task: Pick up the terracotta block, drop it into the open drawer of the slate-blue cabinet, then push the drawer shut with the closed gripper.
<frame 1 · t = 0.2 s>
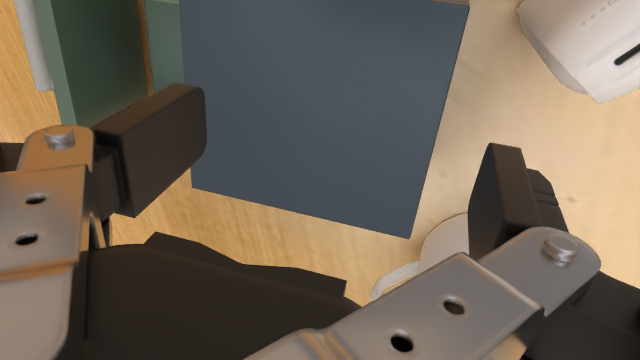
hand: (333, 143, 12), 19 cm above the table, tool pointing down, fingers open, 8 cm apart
cabinet: (342, 65, 31), on the table
drawer: (145, 53, 29), point 5 cm above the table, slide at 8.5 cm
mug: (463, 255, 36), on the table
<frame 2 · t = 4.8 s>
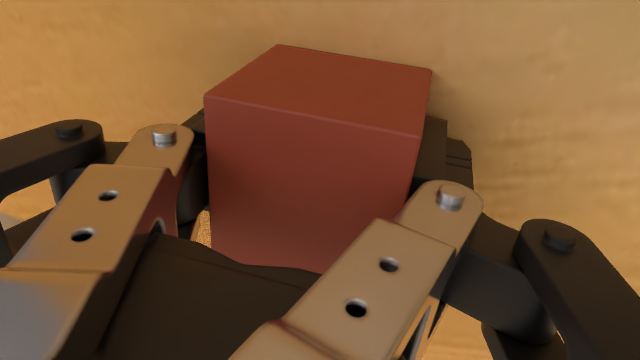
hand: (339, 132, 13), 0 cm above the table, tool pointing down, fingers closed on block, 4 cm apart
block: (342, 128, 13), on the table, touching gripper
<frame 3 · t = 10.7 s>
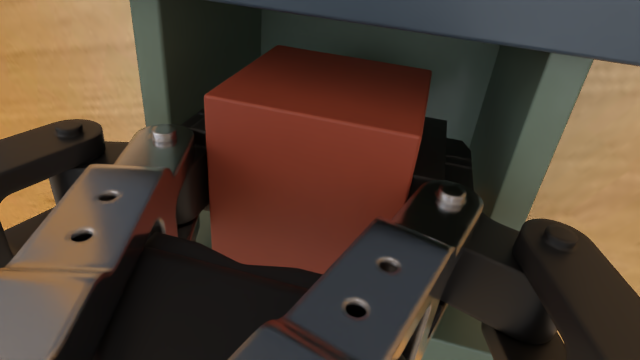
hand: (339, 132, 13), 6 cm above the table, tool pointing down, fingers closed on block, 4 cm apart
drawer: (344, 161, 15), point 5 cm above the table, slide at 8.5 cm
block: (342, 128, 13), point 6 cm above the table, touching gripper
when the fingers open (9 cm above the table, at t = 27.9 s): block drops 7 cm, resting on drawer.
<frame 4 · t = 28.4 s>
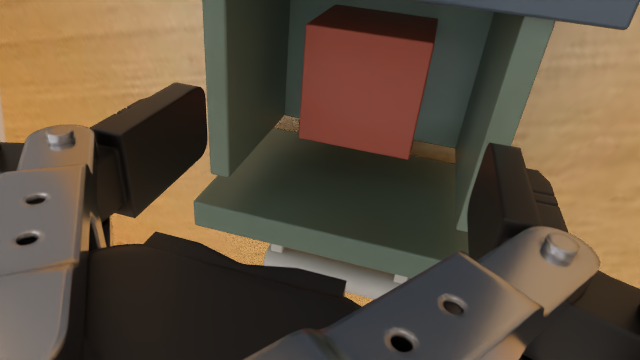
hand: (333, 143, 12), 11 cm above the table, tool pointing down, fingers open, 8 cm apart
drawer: (361, 122, 18), point 5 cm above the table, slide at 8.5 cm, touching block
block: (377, 62, 19), point 2 cm above the table, touching drawer
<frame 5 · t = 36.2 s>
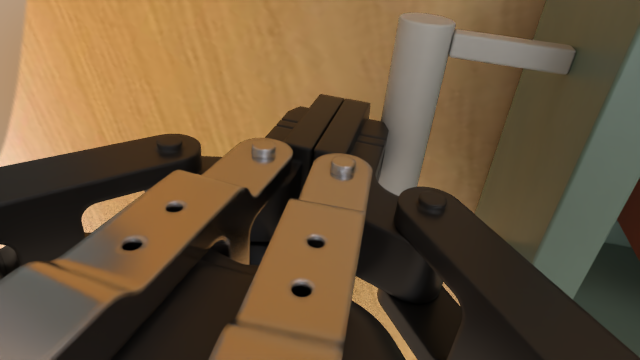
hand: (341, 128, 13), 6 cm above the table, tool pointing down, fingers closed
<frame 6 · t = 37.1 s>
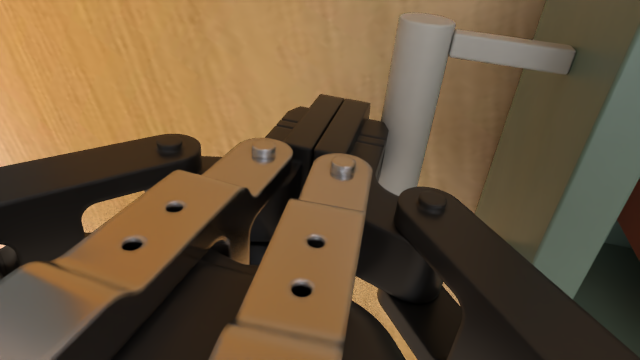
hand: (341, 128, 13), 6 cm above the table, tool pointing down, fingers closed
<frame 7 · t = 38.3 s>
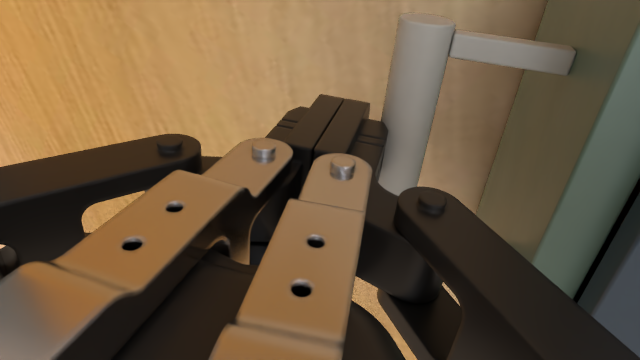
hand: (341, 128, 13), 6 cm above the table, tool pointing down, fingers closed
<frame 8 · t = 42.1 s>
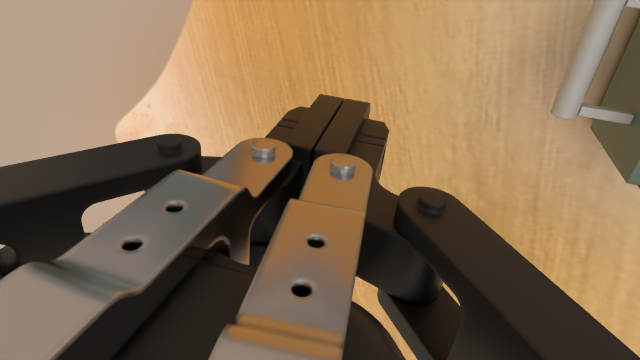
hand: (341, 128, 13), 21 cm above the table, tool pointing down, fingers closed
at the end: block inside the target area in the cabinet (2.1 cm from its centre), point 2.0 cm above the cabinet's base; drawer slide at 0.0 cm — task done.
